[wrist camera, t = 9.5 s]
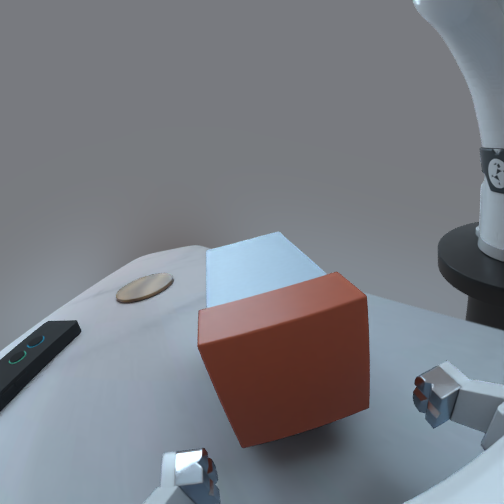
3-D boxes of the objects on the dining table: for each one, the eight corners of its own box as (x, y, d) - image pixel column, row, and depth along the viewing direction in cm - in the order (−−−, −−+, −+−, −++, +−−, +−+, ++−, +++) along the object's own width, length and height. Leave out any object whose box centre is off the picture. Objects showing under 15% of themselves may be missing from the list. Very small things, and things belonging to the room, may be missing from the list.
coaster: (176, 270, 52) (175, 268, 51) (169, 293, 42) (168, 289, 42) (125, 284, 51) (124, 281, 51) (109, 308, 41) (108, 305, 41)
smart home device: (78, 319, 35) (-20, 410, 16) (83, 330, 35) (-10, 422, 17) (46, 320, 37) (-41, 394, 18) (51, 329, 37) (-33, 405, 19)
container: (296, 299, 26) (281, 226, 24) (369, 408, 13) (367, 295, 11) (223, 319, 26) (201, 247, 24) (242, 449, 12) (196, 345, 10)
